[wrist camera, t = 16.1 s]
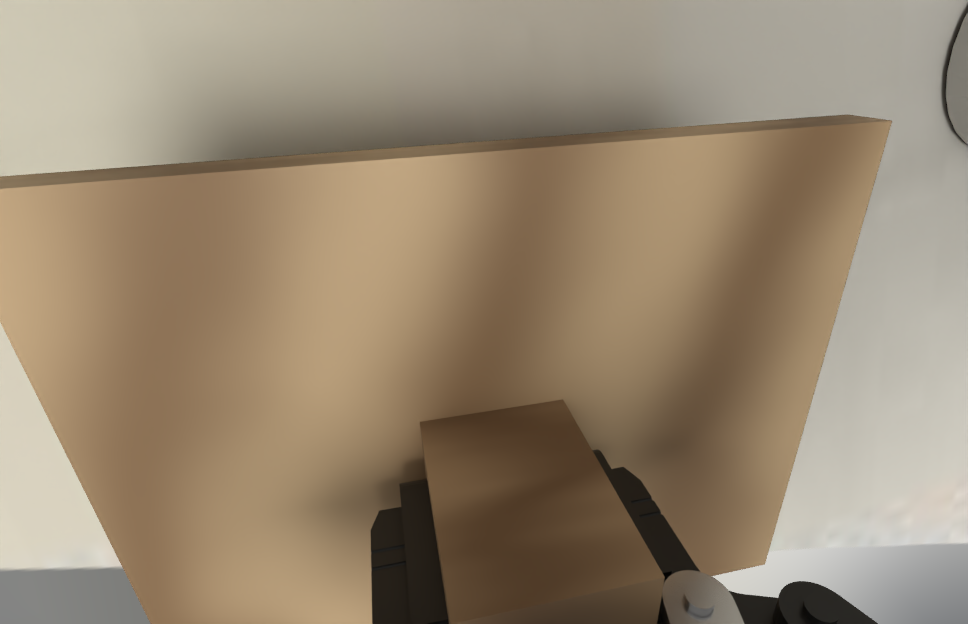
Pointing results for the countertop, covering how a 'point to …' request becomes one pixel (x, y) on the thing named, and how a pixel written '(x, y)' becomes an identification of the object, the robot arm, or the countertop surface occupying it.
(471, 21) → the countertop surface
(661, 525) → the robot arm
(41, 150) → the countertop surface
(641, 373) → the lid
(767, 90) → the countertop surface
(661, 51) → the countertop surface
